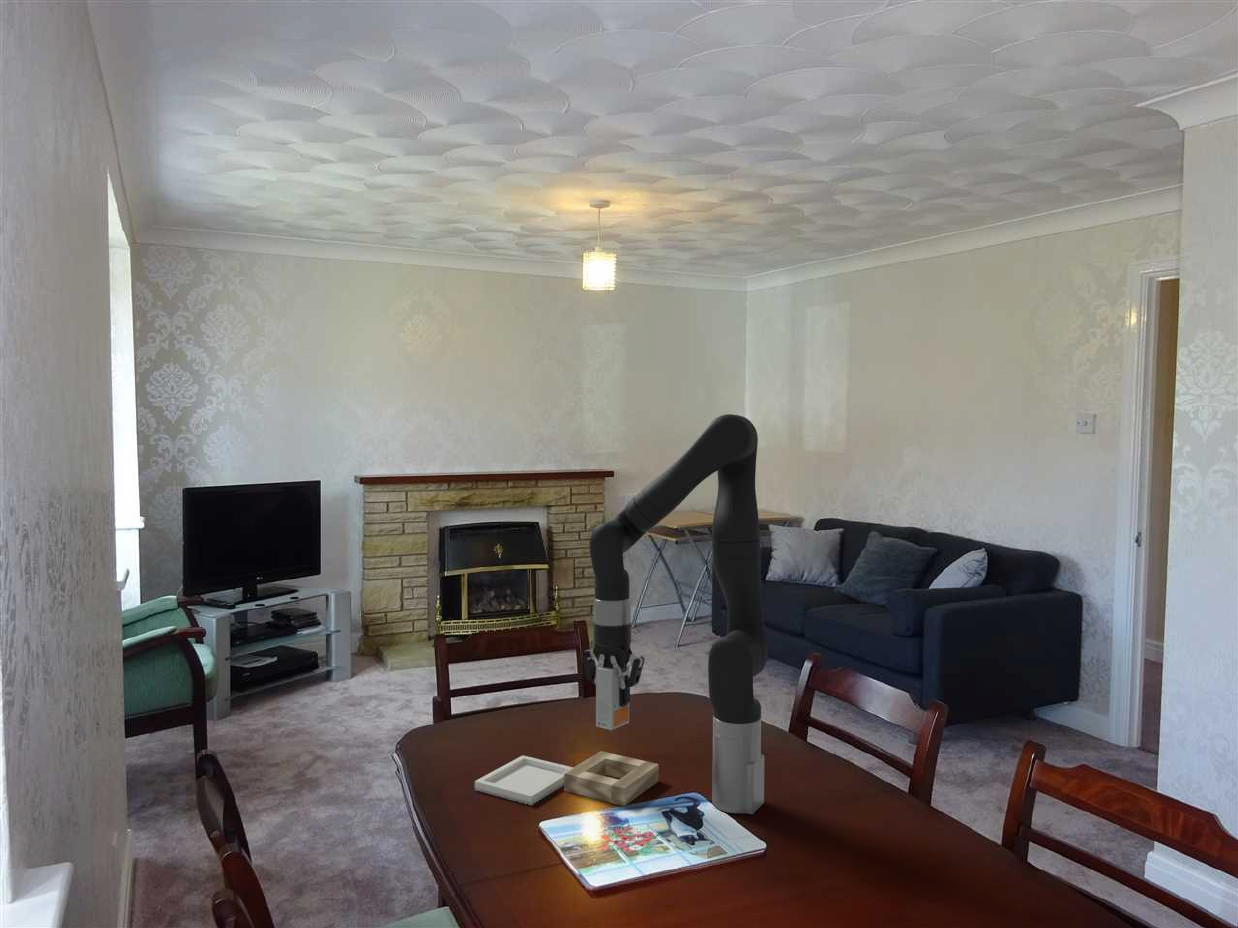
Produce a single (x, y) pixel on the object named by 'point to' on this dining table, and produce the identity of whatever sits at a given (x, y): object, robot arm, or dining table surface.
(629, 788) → the frame
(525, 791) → the grey tray
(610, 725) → the skincare box
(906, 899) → the dining table surface
